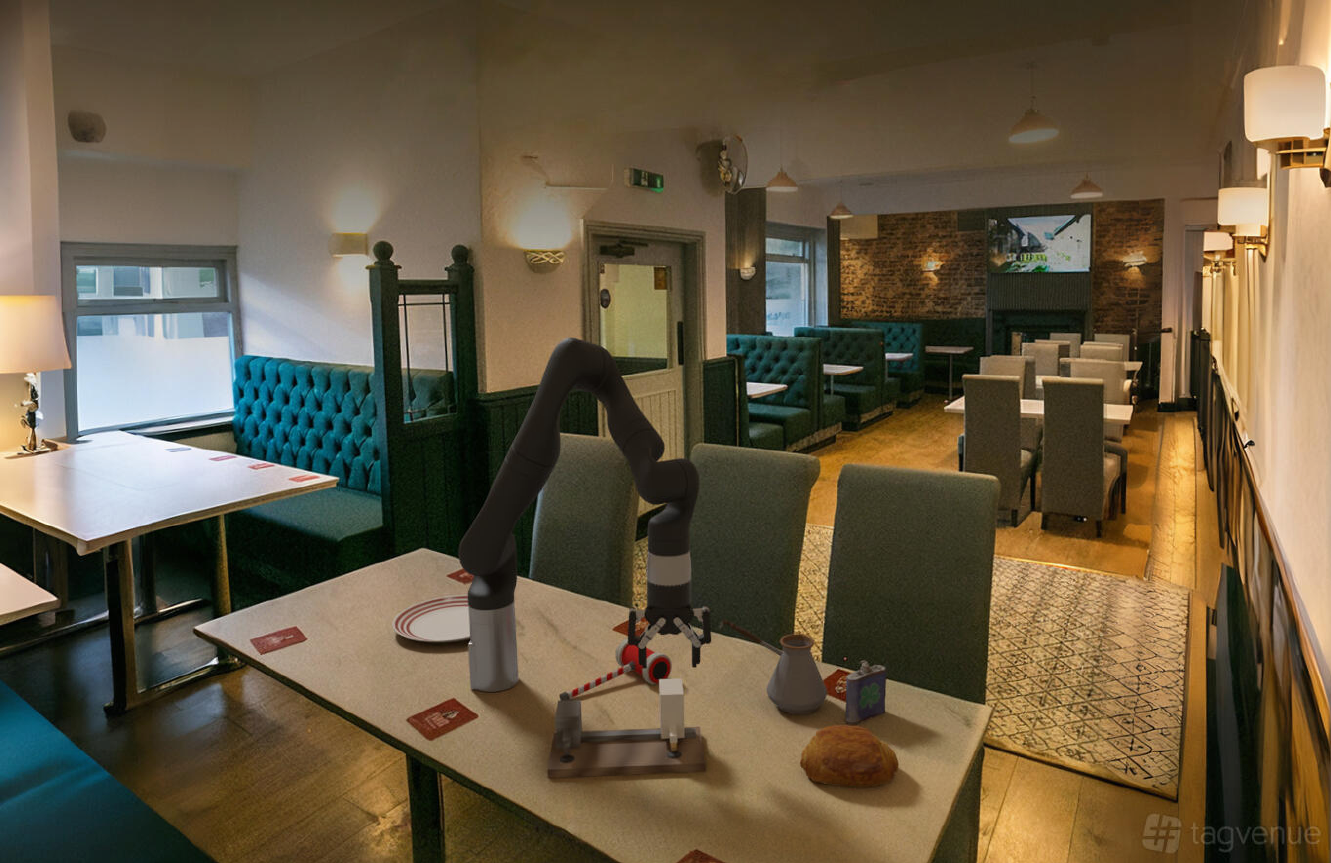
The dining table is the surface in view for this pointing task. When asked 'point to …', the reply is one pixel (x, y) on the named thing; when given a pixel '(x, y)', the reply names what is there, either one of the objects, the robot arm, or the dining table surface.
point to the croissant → (848, 757)
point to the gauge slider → (671, 710)
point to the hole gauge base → (618, 749)
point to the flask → (865, 693)
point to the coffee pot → (792, 673)
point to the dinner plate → (435, 620)
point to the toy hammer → (630, 668)
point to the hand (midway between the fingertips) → (669, 666)
